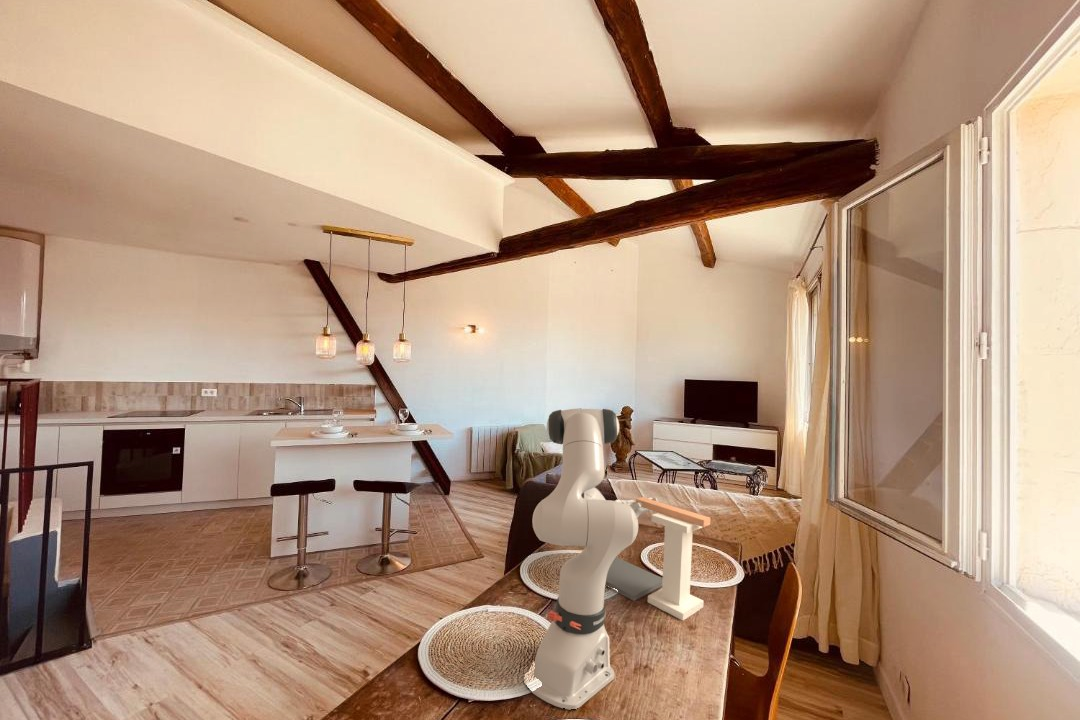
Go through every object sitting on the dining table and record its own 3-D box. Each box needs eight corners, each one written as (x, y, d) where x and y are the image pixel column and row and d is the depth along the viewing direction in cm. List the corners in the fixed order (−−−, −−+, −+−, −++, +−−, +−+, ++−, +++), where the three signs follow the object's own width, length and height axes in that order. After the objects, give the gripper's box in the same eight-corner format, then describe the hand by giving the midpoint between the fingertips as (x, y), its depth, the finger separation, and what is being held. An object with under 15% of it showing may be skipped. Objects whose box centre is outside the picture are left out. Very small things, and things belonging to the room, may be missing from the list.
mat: (573, 568, 151) (573, 564, 151) (606, 556, 163) (606, 552, 163) (633, 601, 132) (633, 596, 132) (665, 584, 144) (665, 579, 144)
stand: (647, 602, 132) (651, 514, 132) (668, 590, 140) (672, 508, 140) (682, 620, 123) (687, 526, 123) (703, 607, 131) (707, 519, 131)
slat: (635, 504, 142) (635, 498, 142) (642, 502, 144) (642, 496, 144) (703, 527, 124) (703, 520, 124) (710, 524, 126) (710, 517, 126)
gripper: (596, 509, 143) (625, 497, 135) (632, 499, 157) (661, 488, 148) (602, 528, 141) (633, 518, 132) (639, 517, 154) (669, 507, 146)
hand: (648, 502), depth 140 cm, fingers open, 8 cm apart
